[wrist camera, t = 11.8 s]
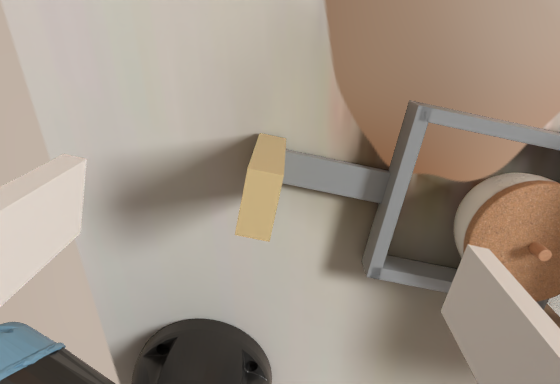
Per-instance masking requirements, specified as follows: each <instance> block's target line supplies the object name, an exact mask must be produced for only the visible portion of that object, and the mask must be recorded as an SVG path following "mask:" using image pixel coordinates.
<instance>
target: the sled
mask: <svg viewBox="0 0 560 384" xmlns="http://www.w3.org/2000/svg"><path fill="white" fill-rule="evenodd" d="M428 122H429V123H434V124H438V125H443V126H448V127H453V128H458V129H462V130H467V131H471V132H476V133H481V134H486V135H490V136H494V137H499V138H504V139H509V140H513V141H518V142H523V143H527V144H532V145H536V146H541V147H546V148H551V149H555V150H560V133H559V132H554V131H550V130H545V129H540V128H535V127H530V126H526V125H522V124H517V123H512V122H507V121H503V120H498V119H493V118H489V117H485V116H480V115H475V114H471V113H466V112H462V111H456V110H452V109H448V108H443V107H438V106H434V105H429V104H424V103H419V102H415V101H411V100H410V101H409V103H408V106H407V110H406V113H405V117H404V120H403V123H402V127H401V130H400V134H399V137H398V141H397V144H396V147H395V150H394V154H393V157H392V160H391V164H390V167H389V171H387V170H383V169H378V168H373V167H368V166H363V165H359V164H354V163H349V162H344V161H339V160H335V159H330V158H325V157H320V156H315V155H311V154H306V153H301V152H296V151H291V150H287V149H286V138H281V137H276V136H271V135H267V134H262V133H260V134H259V136H258V139H257V142H256V145H255V148H254V151H253V154H252V157H251V160H250V163H249V165H248V168H247V174H246V179H245V184H244V189H243V195H242V200H241V205H240V210H239V216H238V221H237V226H236V231H235V235H238V236H243V237H248V238H253V239H258V240H263V241H268V242H269V241H270V237H271V232H272V228H273V223H274V219H275V214H276V210H277V205H278V200H279V196H280V191H281V187H282V183H284V184H288V185H293V186H298V187H303V188H308V189H313V190H318V191H323V192H327V193H332V194H337V195H342V196H347V197H352V198H357V199H361V200H366V201H371V202H376V203H379V204H378V208H377V211H376V214H375V218H374V221H373V224H372V228H371V231H370V235H369V238H368V241H367V245H366V248H365V251H364V255H363V258H362V264H363V267H364V270H365V274H366V277H369V278H374V279H379V280H385V281H390V282H395V283H400V284H405V285H410V286H415V287H420V288H425V289H430V290H435V291H440V292H445V293H448V292H449V289H450V287H451V284H452V282H453V279H454V277H455V274H456V272H457V269H454V268H449V267H444V266H439V265H434V264H429V263H424V262H419V261H414V260H409V259H404V258H399V257H394V256H389V255H387V252H388V249H389V246H390V243H391V239H392V236H393V233H394V230H395V227H396V223H397V220H398V217H399V214H400V211H401V208H402V204H403V201H404V198H405V195H406V192H407V189H408V185H409V182H410V179H411V176H412V173H413V169H414V166H415V163H416V160H417V157H418V154H419V150H420V147H421V144H422V141H423V138H424V135H425V131H426V128H427V125H428ZM548 300H549V299H546V300H542V301H537V303H538V305H539V306H540V307H541V308H542V309H543V310H544V308H545V306H546V304H547V302H548Z"/></svg>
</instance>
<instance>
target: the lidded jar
mask: <svg viewBox="0 0 560 384" xmlns="http://www.w3.org/2000/svg"><path fill="white" fill-rule="evenodd" d="M454 238H455V243H456V246H457V249H458V252H459V254H460V256H461V258H462V257H463V255H464V252H465V250H466V247H467V245H468V244H469V245H473V246H478V247H482V248H487V249H490V251H491V252H492V253H493V254H494V255H495V256H496V257H497V258H498V260H499V261H500V262H501V263H502V264H503V265H504V266H505V267H506V269H507V270H508V271H509V272H510V273H511V274H512V275H513V276H514V278H515V279H516V280H517V281H518V282H519V283H520V284H521V285H522V287H523V288H524V289H525V290H526V291H527V292H528V293H529V294H530V296H531V297H532V298H533V299H534V300H535V301H536V302H537V301H542V300H546V299H549V298H552V297H555V296H557V295H559V294H560V183H558V182H555V181H553V180H551V179H548V178H545V177H542V176H539V175H534V174H529V173H516V172H515V173H505V174H501V175H497V176H493V177H491V178H488V179H486V180H484V181H482V182H481V183H479V184H478V185H476V186H475V187H474V188H472V189H471V190H470V191H469V192H468V193H467V194H466V196H465V197H464V198H463V200H462V201H461V203H460V205H459V207H458V209H457V212H456V215H455V220H454Z"/></svg>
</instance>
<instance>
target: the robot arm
mask: <svg viewBox="0 0 560 384" xmlns="http://www.w3.org/2000/svg"><path fill="white" fill-rule="evenodd" d="M86 163H87V159H85V158H81V157H76V156H72V155H67V154H62V155H60V156H58V157H57V158H55V159H53V160H51V161H49V162H47V163H45V164H43V165H41V166H39V167H37V168H35V169H33V170H31V171H30V172H28V173H26V174H24V175H22V176H20V177H18V178H16V179H14V180H12V181H10V182H8V183H6V184H5V185H2V186H0V307H1V306H2V305H3V304H4V303H5V302H6V301H8V300H9V299H10V298H11V297H12V296H13V295H14V294H15V293H16V292H17V291H18V290H19V289H21V288H22V287H23V286H24V285H25V284H26V283H27V282H28V281H29V280H30V279H31V278H32V277H33V276H34V275H36V274H37V273H38V272H39V271H40V270H41V269H42V268H43V267H44V266H45V265H46V264H48V263H49V262H50V261H51V260H52V259H53V258H54V257H55V256H56V255H57V254H58V253H59V252H60V251H62V250H63V249H64V248H65V247H66V246H67V245H68V244H69V243H70V242H71V241H72V240H74V239H75V238H76V237H77V236H78V235H79V234H80V233H81V222H82V210H83V198H84V187H85V175H86ZM441 313H442V315H443V317H444V319H445V321H446V323H447V325H448V327H449V329H450V331H451V333H452V335H453V336H454V338H455V340H456V342H457V344H458V346H459V348H460V350H461V352H462V354H463V356H464V358H465V360H466V362H467V364H468V366H469V367H470V369H471V371H472V373H473V375H474V377H475V379H476V381H477V383H478V384H560V328H559V327H558V326H557V325H556V324H555V323H554V321H553V320H552V319H551V318H550V317H549V316H548V315H547V314H546V312H545V311H544V310H543V309H542V308H541V307H540V306H539V305H538V303H537V302H536V301H535V300H534V299H533V298H532V297H531V296H530V294H529V293H528V292H527V291H526V290H525V289H524V288H523V287H522V285H521V284H520V283H519V282H518V281H517V280H516V279H515V278H514V276H513V275H512V274H511V273H510V272H509V271H508V270H507V269H506V267H505V266H504V265H503V264H502V263H501V262H500V261H499V260H498V258H497V257H496V256H495V255H494V254H493V253H492V252H491V251H490V249H487V248H482V247H478V246H473V245H469V244H468V245H467V247H466V250H465V252H464V255H463V257H462V259H461V262H460V264H459V267H458V269H457V272H456V274H455V277H454V279H453V282H452V284H451V287H450V289H449V292H448V294H447V296H446V299H445V301H444V304H443V306H442V309H441ZM0 384H115V383H114V382H112V381H110V380H109V379H108V378H106V377H105V376H103V375H102V374H101V373H99V372H98V371H96V370H95V369H93V368H92V367H91V366H89V365H88V364H86V363H85V362H83V361H82V360H80V359H79V358H77V357H76V356H75V355H73V354H72V353H70V352H69V351H68V350H66V349H65V345H64V344H63V343H56V342H54V341H52V340H51V339H49V338H47V337H46V336H44V335H43V334H41V333H39V332H38V331H36V330H35V329H33V328H31V327H29V326H28V325H26V324H23V323H19V322H8V323H4V324H0ZM132 384H272V373H271V367H270V364H269V361H268V359H267V356H266V355H265V353H264V351H263V350H262V348H261V347H260V346H259V345H258V343H257V342H256V341H255V340H254V339H253V338H251V337H250V336H249V335H248V334H246V333H245V332H243V331H242V330H240V329H238V328H236V327H234V326H232V325H229V324H227V323H223V322H220V321H215V320H209V319H191V320H184V321H180V322H177V323H174V324H171V325H169V326H167V327H165V328H163V329H161V330H160V331H159V332H157V333H156V334H155V335H154V336H153V337H151V339H150V340H149V341H148V342H147V343H146V345H145V346H144V348H143V350H142V352H141V354H140V356H139V358H138V360H137V363H136V365H135V368H134V372H133V376H132Z"/></svg>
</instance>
